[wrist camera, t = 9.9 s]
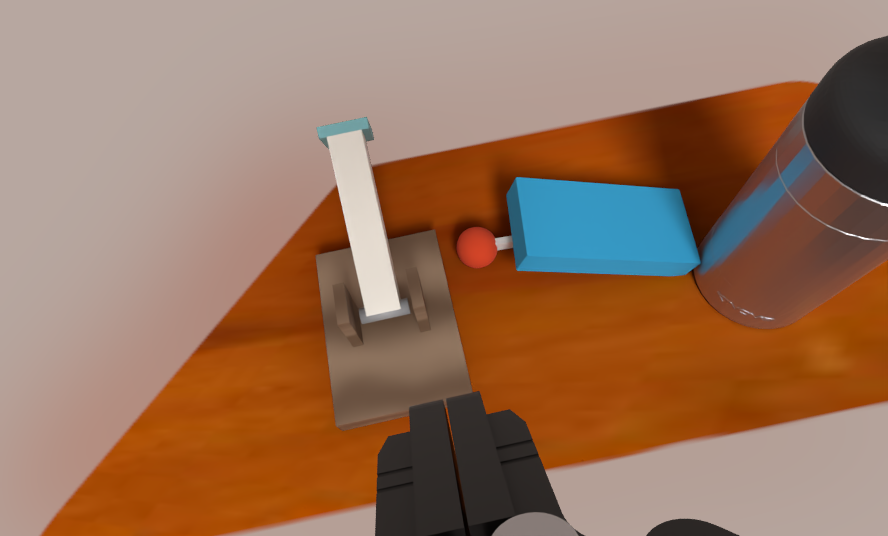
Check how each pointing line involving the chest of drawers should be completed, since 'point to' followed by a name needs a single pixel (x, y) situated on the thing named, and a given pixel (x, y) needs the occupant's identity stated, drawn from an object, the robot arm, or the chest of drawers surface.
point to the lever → (589, 230)
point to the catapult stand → (391, 337)
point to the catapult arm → (364, 219)
